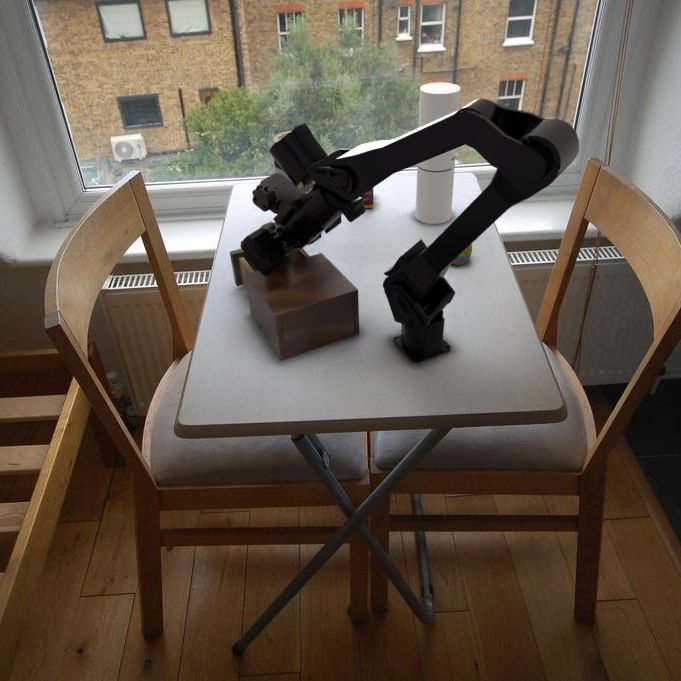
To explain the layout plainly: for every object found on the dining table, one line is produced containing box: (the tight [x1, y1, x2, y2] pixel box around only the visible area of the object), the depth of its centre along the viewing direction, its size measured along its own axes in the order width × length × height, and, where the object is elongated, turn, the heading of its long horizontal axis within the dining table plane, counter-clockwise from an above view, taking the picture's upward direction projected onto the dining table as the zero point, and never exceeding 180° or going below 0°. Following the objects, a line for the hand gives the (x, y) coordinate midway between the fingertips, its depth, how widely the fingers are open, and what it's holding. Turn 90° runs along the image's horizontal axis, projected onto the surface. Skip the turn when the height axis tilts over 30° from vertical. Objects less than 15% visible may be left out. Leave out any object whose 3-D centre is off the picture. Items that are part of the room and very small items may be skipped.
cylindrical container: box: [415, 81, 461, 225], centre depth 119 cm, size 7×7×25 cm
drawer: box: [229, 247, 311, 294], centre depth 104 cm, size 13×12×6 cm
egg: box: [451, 243, 473, 266], centre depth 110 cm, size 5×5×6 cm
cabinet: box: [245, 252, 360, 361], centre depth 96 cm, size 13×13×8 cm
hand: (268, 255), depth 102 cm, fingers closed on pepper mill, 4 cm apart
